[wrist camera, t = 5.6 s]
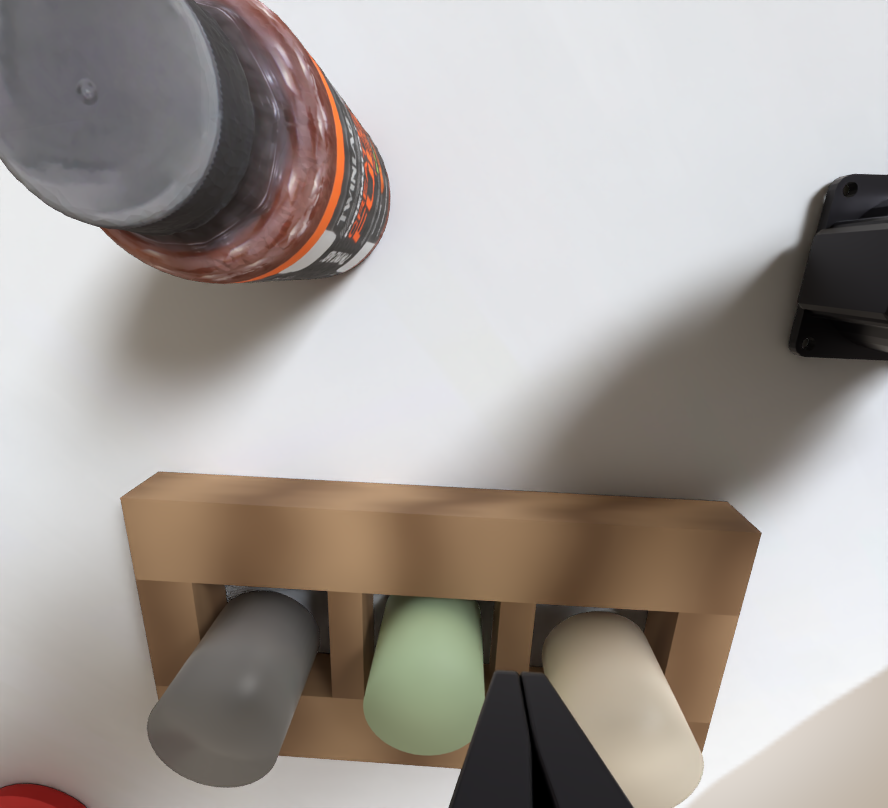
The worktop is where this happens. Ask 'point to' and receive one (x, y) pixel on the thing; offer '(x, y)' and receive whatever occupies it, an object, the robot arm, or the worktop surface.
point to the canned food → (36, 797)
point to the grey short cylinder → (237, 692)
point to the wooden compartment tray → (434, 578)
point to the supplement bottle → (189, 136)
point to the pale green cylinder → (426, 675)
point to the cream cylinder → (624, 706)
